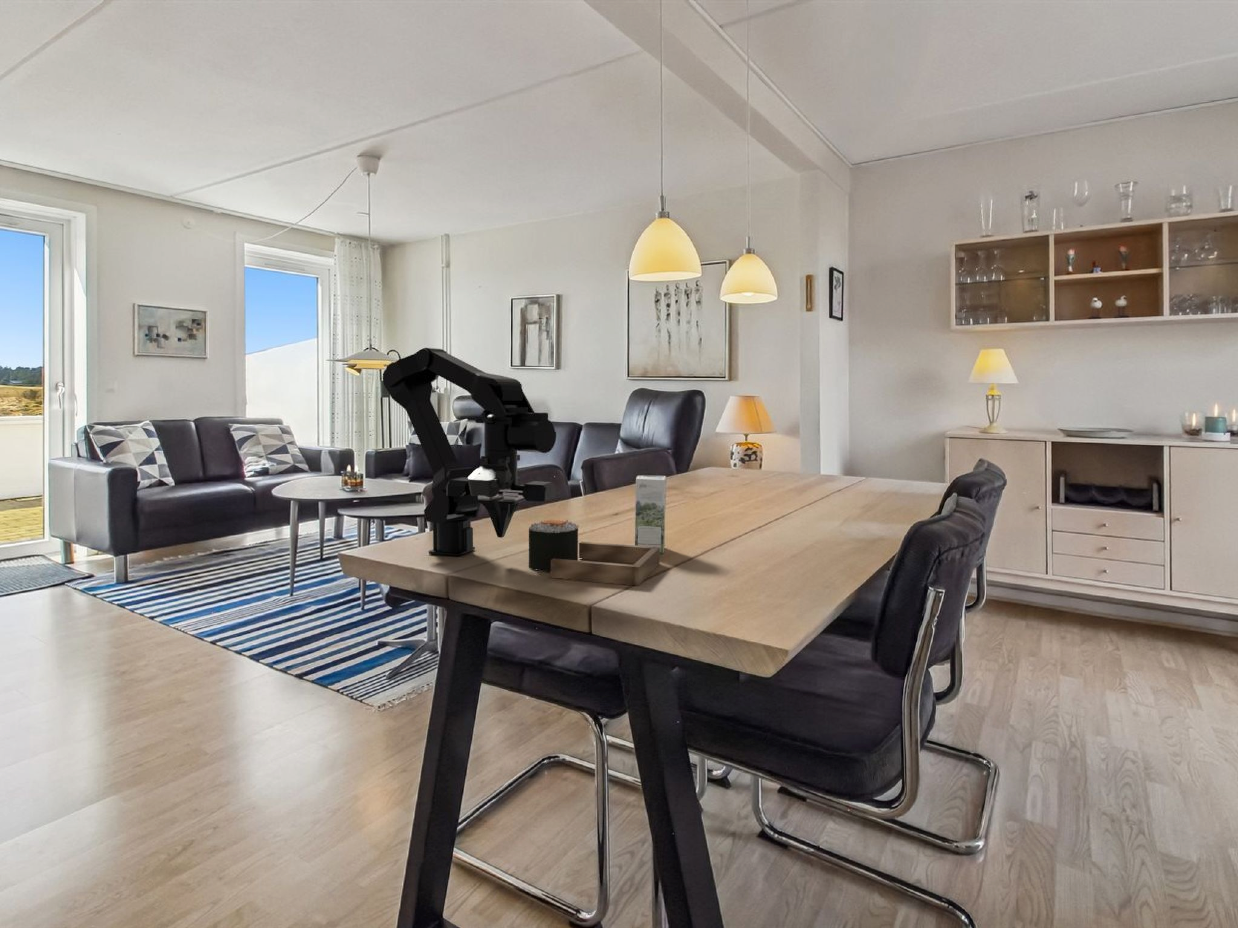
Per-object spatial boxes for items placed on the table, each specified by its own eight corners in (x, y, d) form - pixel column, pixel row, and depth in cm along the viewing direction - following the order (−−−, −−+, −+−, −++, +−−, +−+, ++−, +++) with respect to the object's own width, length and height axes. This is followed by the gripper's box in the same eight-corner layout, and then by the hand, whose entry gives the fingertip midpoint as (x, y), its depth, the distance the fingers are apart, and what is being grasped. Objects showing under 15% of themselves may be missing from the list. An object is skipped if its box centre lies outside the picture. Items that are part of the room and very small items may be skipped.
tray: (550, 578, 114) (550, 560, 114) (581, 557, 129) (581, 541, 129) (638, 585, 110) (638, 567, 110) (659, 563, 125) (659, 547, 125)
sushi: (521, 568, 120) (521, 523, 120) (545, 559, 128) (546, 515, 127) (562, 574, 117) (562, 527, 116) (585, 563, 125) (585, 519, 124)
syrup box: (665, 547, 139) (666, 474, 138) (664, 554, 133) (665, 478, 132) (636, 546, 139) (637, 474, 138) (634, 553, 134) (635, 477, 132)
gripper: (429, 451, 118) (430, 542, 120) (532, 455, 113) (531, 550, 115) (461, 446, 129) (461, 530, 130) (556, 450, 124) (556, 537, 125)
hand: (500, 537), depth 125 cm, fingers closed
